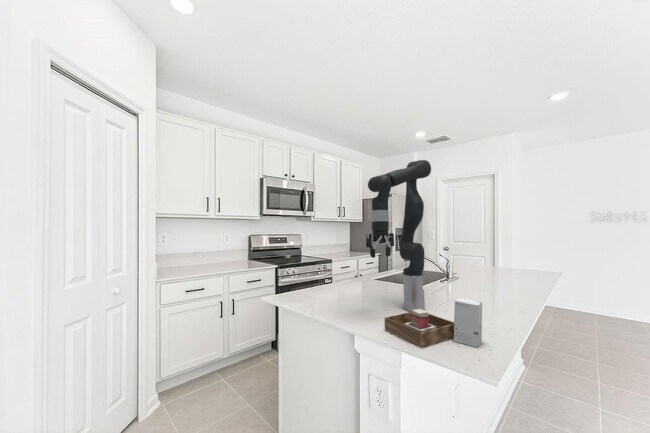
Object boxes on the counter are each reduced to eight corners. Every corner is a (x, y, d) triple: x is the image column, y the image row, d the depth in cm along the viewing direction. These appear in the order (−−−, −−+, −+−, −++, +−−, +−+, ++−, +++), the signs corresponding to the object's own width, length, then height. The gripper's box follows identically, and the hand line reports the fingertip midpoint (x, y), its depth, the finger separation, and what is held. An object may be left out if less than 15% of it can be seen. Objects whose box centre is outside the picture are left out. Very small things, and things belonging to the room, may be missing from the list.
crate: (418, 321, 122) (418, 310, 123) (457, 336, 106) (457, 323, 106) (384, 330, 113) (384, 317, 113) (422, 348, 97) (421, 333, 97)
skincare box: (453, 341, 102) (452, 300, 102) (458, 336, 106) (457, 297, 107) (479, 348, 96) (478, 304, 96) (483, 342, 101) (482, 300, 101)
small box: (411, 329, 111) (411, 309, 112) (420, 328, 113) (420, 308, 113) (419, 334, 107) (419, 313, 107) (429, 332, 108) (428, 312, 108)
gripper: (386, 220, 132) (387, 255, 132) (362, 220, 125) (362, 257, 125) (397, 220, 126) (398, 256, 126) (372, 220, 119) (373, 258, 119)
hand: (380, 256), depth 125 cm, fingers open, 8 cm apart
